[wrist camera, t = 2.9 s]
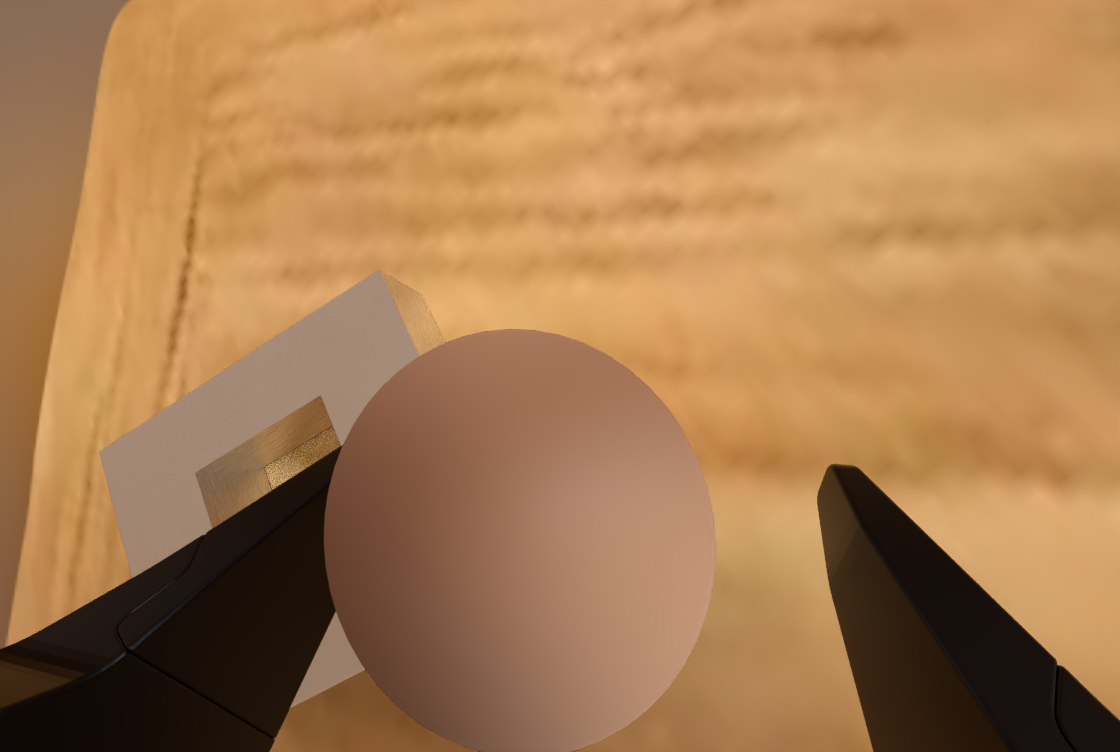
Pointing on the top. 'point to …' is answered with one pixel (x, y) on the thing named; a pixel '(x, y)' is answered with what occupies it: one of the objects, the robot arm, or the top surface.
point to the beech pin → (519, 542)
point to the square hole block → (264, 431)
